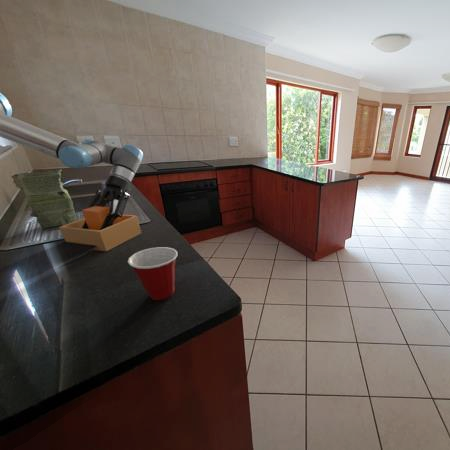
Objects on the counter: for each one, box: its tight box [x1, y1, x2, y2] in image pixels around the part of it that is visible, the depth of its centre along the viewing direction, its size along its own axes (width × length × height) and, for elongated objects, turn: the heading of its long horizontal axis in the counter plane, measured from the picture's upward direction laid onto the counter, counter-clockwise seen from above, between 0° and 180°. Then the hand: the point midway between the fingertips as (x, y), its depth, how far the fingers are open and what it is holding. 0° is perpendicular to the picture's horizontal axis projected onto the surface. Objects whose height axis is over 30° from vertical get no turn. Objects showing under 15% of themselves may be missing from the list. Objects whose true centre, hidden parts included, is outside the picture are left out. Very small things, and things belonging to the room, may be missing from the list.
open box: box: [59, 214, 142, 252], centre depth 92 cm, size 18×16×8 cm
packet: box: [81, 206, 115, 231], centre depth 90 cm, size 7×5×12 cm
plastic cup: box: [127, 246, 179, 301], centre depth 62 cm, size 11×11×12 cm
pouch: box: [11, 168, 77, 231], centre depth 97 cm, size 11×12×25 cm
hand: (94, 232), depth 88 cm, fingers open, 7 cm apart
